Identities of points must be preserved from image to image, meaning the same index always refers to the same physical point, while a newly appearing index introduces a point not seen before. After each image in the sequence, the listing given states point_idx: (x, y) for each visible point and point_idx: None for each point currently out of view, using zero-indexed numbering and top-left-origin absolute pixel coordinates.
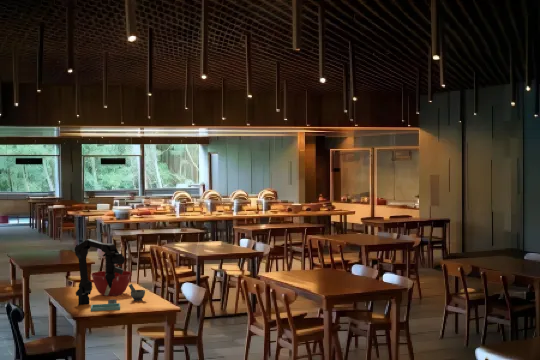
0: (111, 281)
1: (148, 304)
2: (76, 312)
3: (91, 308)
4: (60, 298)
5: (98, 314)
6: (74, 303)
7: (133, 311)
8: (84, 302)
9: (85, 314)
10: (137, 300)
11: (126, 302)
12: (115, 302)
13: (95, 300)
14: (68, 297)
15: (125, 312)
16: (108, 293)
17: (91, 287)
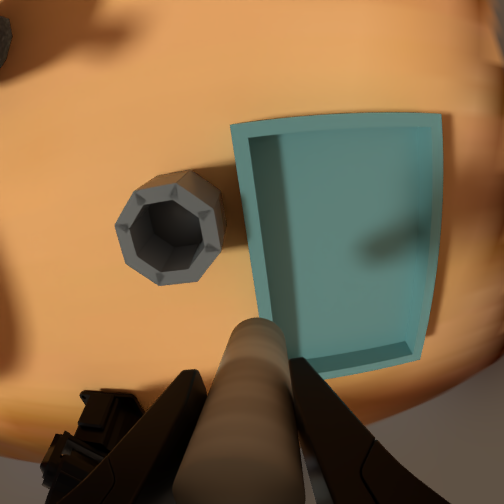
0: (400, 492)
1: None
2: (378, 408)
3: (419, 353)
4: (29, 455)
5: (494, 273)
6: None
7: (459, 9)
8: (134, 421)
9: (458, 349)
10: (3, 36)
11: (17, 124)
12: (196, 188)
13: (3, 355)
14: (4, 435)
15: (488, 74)
16: (264, 328)
17: (74, 478)
